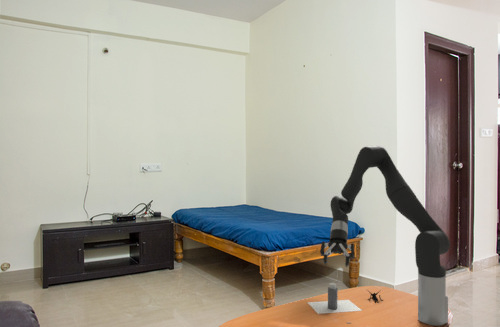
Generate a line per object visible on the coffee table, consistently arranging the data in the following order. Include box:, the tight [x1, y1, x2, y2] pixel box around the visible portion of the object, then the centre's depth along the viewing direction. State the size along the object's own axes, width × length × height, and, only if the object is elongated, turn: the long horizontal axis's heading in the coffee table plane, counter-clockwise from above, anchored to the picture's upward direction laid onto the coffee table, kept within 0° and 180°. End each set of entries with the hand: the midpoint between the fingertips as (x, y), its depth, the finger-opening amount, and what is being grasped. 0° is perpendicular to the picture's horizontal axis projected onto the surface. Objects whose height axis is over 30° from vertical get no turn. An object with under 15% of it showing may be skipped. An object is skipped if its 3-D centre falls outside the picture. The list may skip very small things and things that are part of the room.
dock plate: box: [307, 299, 363, 315], centre depth 152 cm, size 18×12×1 cm, turn 101°
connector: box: [327, 282, 339, 310], centre depth 151 cm, size 5×4×9 cm
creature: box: [366, 289, 384, 304], centre depth 159 cm, size 8×5×8 cm
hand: (336, 264), depth 162 cm, fingers open, 8 cm apart
